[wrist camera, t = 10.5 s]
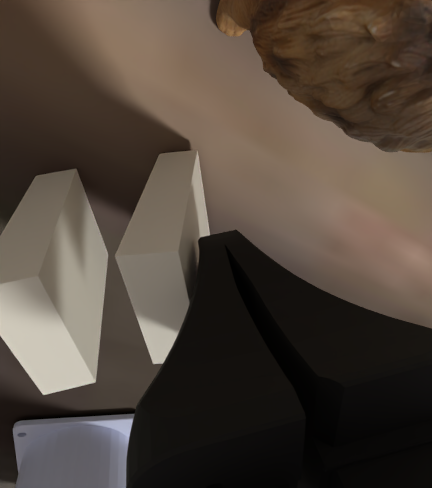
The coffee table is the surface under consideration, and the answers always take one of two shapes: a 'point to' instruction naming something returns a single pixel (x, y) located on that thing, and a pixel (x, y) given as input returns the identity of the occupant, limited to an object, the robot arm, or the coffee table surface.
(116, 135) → the coffee table surface
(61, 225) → the tile
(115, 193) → the coffee table surface
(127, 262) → the tile
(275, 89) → the coffee table surface
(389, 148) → the lion figurine
